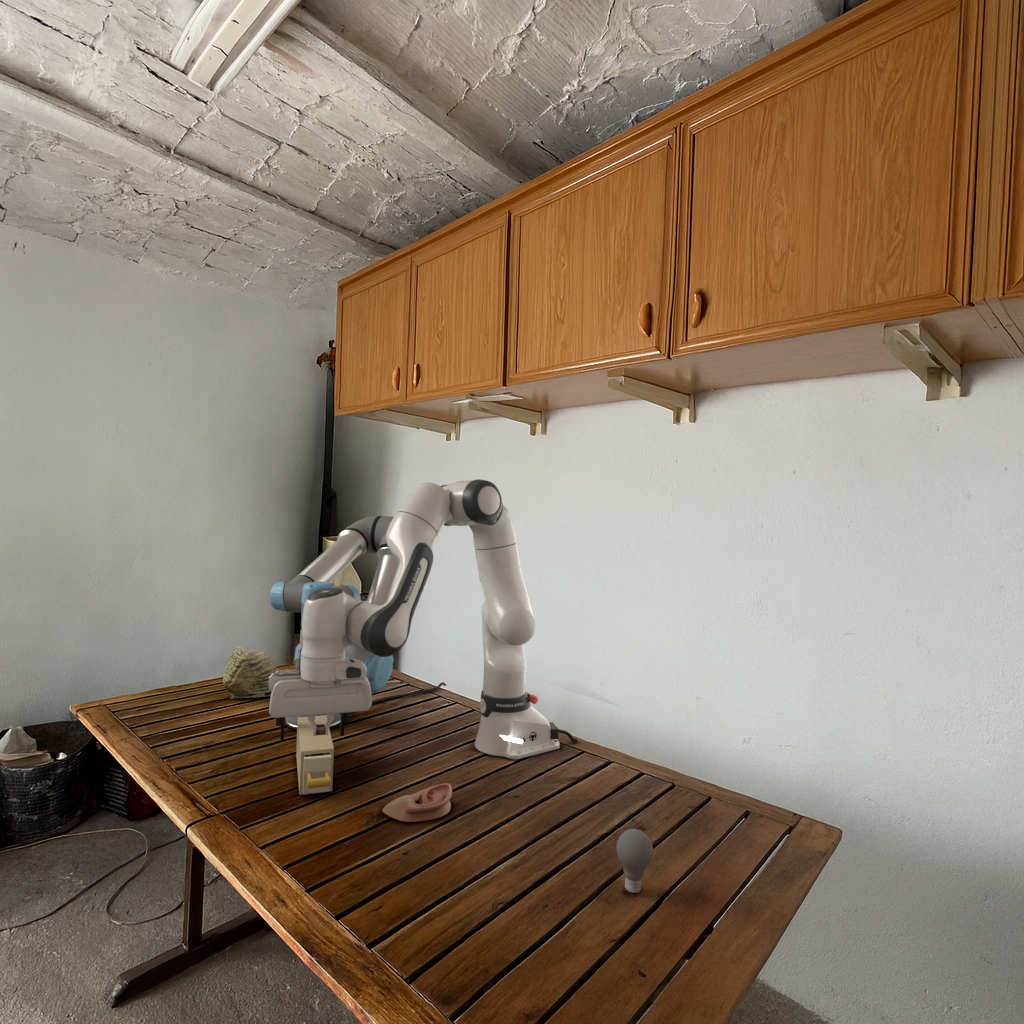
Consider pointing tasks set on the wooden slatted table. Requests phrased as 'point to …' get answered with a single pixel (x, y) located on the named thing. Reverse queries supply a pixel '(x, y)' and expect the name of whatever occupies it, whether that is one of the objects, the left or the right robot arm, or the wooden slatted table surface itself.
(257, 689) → the fossil
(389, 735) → the wooden slatted table surface
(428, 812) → the anatomical model
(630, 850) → the light bulb
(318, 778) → the drawer
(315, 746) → the cabinet
